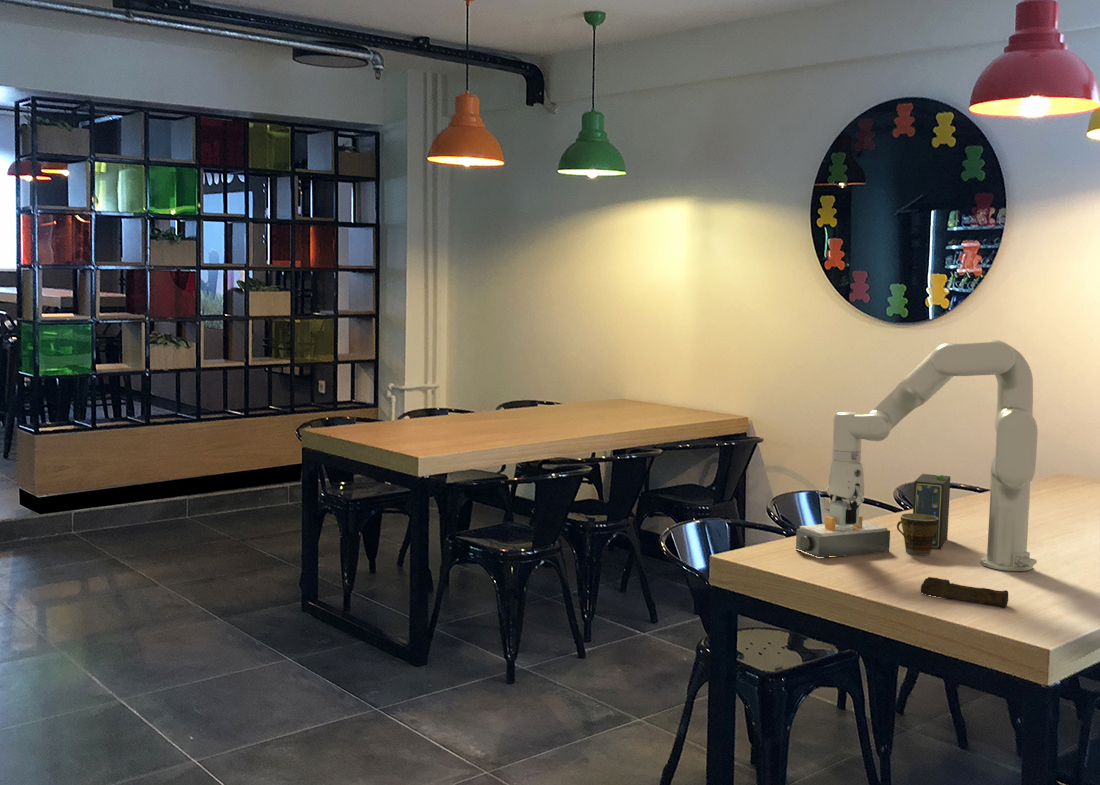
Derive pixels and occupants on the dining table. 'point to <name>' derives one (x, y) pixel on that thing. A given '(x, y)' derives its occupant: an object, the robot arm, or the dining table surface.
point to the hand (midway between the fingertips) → (844, 520)
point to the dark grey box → (933, 503)
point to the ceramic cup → (918, 532)
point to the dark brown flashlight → (963, 592)
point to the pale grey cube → (841, 512)
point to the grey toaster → (842, 538)
